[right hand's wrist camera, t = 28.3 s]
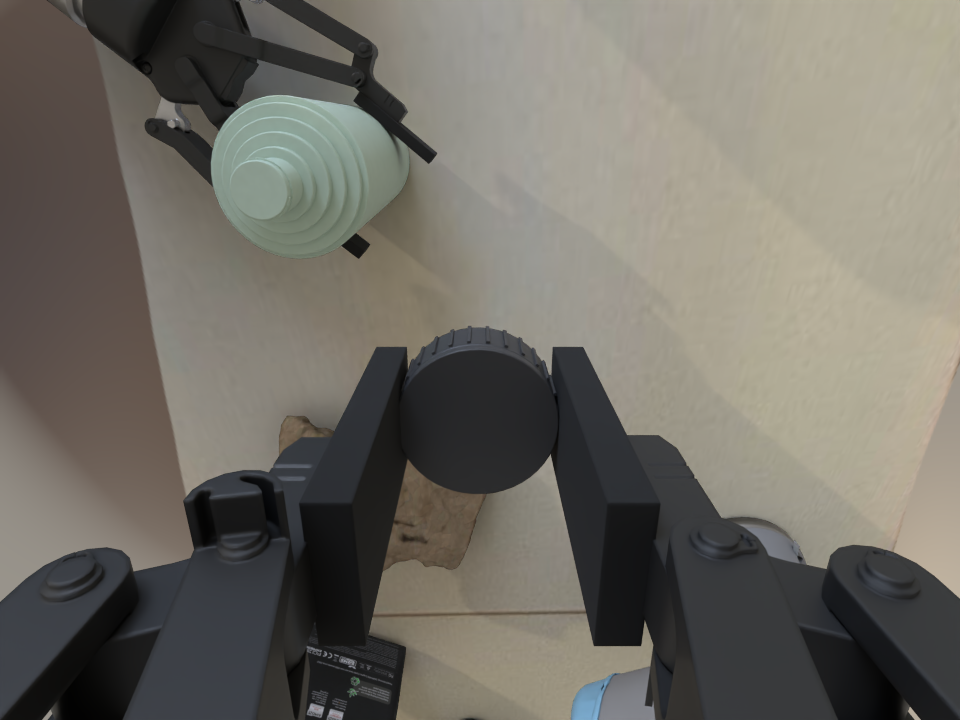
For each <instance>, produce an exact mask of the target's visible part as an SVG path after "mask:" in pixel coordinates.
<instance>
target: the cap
mask: <svg viewBox="0 0 960 720" xmlns="http://www.w3.org/2000/svg"><path fill="white" fill-rule="evenodd" d="M555 396H557V394H556V390H555V387H554V384H553V380H552V377H551V375H549V374H548V371H547V367H546V364H545V361H544V360H543V361H541V360H540V358H539V357H538V356H537V354H536V351H535V349H534V348H532V349H531V348H530V347H529V346H528V345H527V344H525V343H524V342H523V341H522V338H520V337H519V338H516V337H514V336H512V335H510V334H508V333H507V331H506V330H503V332H502V331H499V330H495V329H489V326H486V328H472V327H471V326H468V328H466V329H460V330H457V331H454V329H453V330H451V331H450V333H448V334H445V335H443V336H441V337H438V336H437V337H435V339H434V341H433V342H431V343H430V344H429V345H428V346H426V347H424V346H423V347H422V348H421V352H420V353H419V355H418V356H417V357H416V359H415V360H414V359H412V360H411V363H410V366H409V369H408V373H407V374H406V377H405V380H404V383H403V387H402V390H401V397H400V400H399V411H400V428H401V445H402V450H403V452H404V453H405V455H406V457H407V458H408V460H409V461H410V462H411V464H412V465H413V466H414V467H415V468H416V469H417V470H418V471H419V472H420V473H421V474H422V475H423V476H425V477H426V478H427V479H429V480H430V481H432V482H433V483H435V484H437V485H439V486H441V487H443V488H446V489H449V490H452V491H456V492H460V493H467V494H488V493H495V492H499V491H503V490H506V489H509V488H512V487H514V486H516V485H518V484H520V483H522V482H523V481H525V480H527V479H528V478H530V477H531V476H532V475H533V474H534V473H535V472H537V471H538V470H539V469H540V467H541V466H542V465H543V464H544V463H545V461H546V460H547V458H548V457H549V456H550V454H551V452H552V450H553V448H554V445H555V442H556V439H557V435H558V430H559V414H558V407H557V404H556V400H555Z"/></svg>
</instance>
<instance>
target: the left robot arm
mask: <svg viewBox="0 0 960 720" xmlns="http://www.w3.org/2000/svg"><path fill="white" fill-rule="evenodd" d="M47 1H48V2H50V3H51V4H52V5H54V6H55V7H56V8H58V9H59V10H60V11H61V12H63V13H64V14H65V15H67V16H68V17H69V18H70V19H72V20H73V21H74V22H75V23H77V24H78V25H80V26H83V27H85V28H88V30H89V31H90V33H91V34H92V35H93V36H94V37H95V38H97V39H98V40H99V41H101V42H102V43H103V44H105V45H106V46H107V47H109V48H110V49H111V50H112V51H114V52H115V53H116V54H118V55H119V56H120V57H122V58H123V59H124V60H126V61H127V62H128V63H130V64H131V65H132V66H133V67H135V68H136V69H137V70H139V71H140V72H141V73H143V74H144V75H146V76H147V77H148V78H149V79H150V80H151V81H152V83H153V84H154V86H155V87H156V89H157V91H158V93H159V94H160V95H161V96H162V97H161V100H160V103H159V106H158V109H157V113H156V116H155V118H150V119H148V120H146V122H145V129H146V131H147V133H148V134H150V135H151V136H153V137H155V138H156V139H158V140H160V141H162V142H164V143H166V144H168V145H169V146H171V147H173V148H175V149H176V150H177V151H178V152H179V153H180V154H181V155H182V156H183V157H184V158H185V159H186V160H187V161H188V162H189V163H190V164H191V165H192V166H193V167H194V168H195V169H196V170H197V171H198V172H199V173H200V174H201V175H202V176H203V177H204V178H205V179H206V180H207V181H208V182H209V183H210V184H211V185H212V186H213V182H212V176H211V159H212V151H213V148H212V147H211V146H210V145H209V144H208V143H207V142H206V141H205V140H204V139H203V138H202V137H201V136H199V135H198V134H197V133H195V132H194V131H192V130H191V129H190V128H191V123H190V121H189V120H188V119H187V118H186V117H185V116H184V115H183V113H182V111H181V104H193V105H200V107H201V108H202V110H203V111H204V113H205V114H206V116H207V118H208V119H209V121H210V122H211V123H212V124H213V125H215V126H216V127H217V129H218V130H219V131H220V130H221V128H222V126H223V124H224V123H225V122H226V121H227V119H228V118H229V117H230V116H231V115H232V114H233V113H234V112H235V111H236V110H237V109H239V107H238V105H237V103H236V102H237V100H238V99H239V97H240V95H241V94H242V91H243V87H244V83H245V81H246V80H247V79H248V78H249V77H250V76H251V75H252V74H253V73H254V72H255V70H256V68H257V67H258V65H259V64H257V63H256V62H257V59H258V60H262V61H265V62H269V63H272V64H276V65H279V66H283V67H286V68H289V69H293V70H296V71H300V72H303V73H307V74H310V75H314V76H317V77H320V78H324V79H327V80H331V81H334V82H338V83H341V84H345V85H348V86H352V87H355V88H356V89H357V90H358V91H360V92H359V93H358V95H357V96H356V98H355V99H354V102H355V103H356V104H358V105H359V106H360V107H361V108H362V109H364V110H365V111H366V112H367V113H368V114H370V115H371V116H372V117H373V118H374V119H376V120H377V121H378V122H379V123H380V124H382V125H383V126H384V127H385V128H386V129H388V130H389V131H390V132H391V133H392V134H394V135H395V136H396V137H397V138H398V139H400V140H401V141H402V142H403V143H404V144H406V145H407V146H408V147H409V148H410V149H412V150H413V151H414V152H415V153H416V154H418V155H419V156H420V157H421V158H422V159H424V160H425V161H426V162H427V163H428V164H429V163H430V162H431V161H432V160H433V159H434V157H435V156H436V155H437V153H436V152H435V151H434V150H433V149H432V148H430V147H429V146H428V145H427V144H426V143H424V142H423V141H422V140H421V139H420V138H419V137H417V136H416V135H415V134H414V133H413V132H411V131H410V130H409V129H408V128H407V127H405V126H404V125H403V124H402V123H401V121H402V120H403V118H404V117H405V115H406V114H407V113H408V111H407V109H406V107H405V106H404V104H403V103H401V102H400V101H399V100H398V99H397V98H396V97H394V96H393V95H392V94H391V93H390V92H389V91H387V90H386V89H385V88H384V87H383V86H381V85H380V84H379V83H378V82H377V81H376V80H375V78H374V75H373V68H374V64H375V60H376V58H377V56H378V49H377V47H376V46H375V45H374V44H373V43H372V42H370V41H369V40H368V39H366V38H365V37H363V36H361V35H360V34H358V33H357V32H355V31H353V30H352V29H350V28H348V27H347V26H345V25H343V24H342V23H340V22H338V21H337V20H335V19H333V18H332V17H330V16H328V15H327V14H325V13H323V12H322V11H320V10H318V9H317V8H315V7H313V6H312V5H310V4H308V3H307V2H305V1H303V0H266V1H267V2H269V3H270V4H272V5H273V6H275V7H277V8H278V9H280V10H282V11H283V12H285V13H287V14H288V15H290V16H292V17H294V18H295V19H297V20H299V21H300V22H302V23H304V24H305V25H307V26H309V27H310V28H312V29H314V30H315V31H317V32H319V33H321V34H322V35H324V36H326V37H327V38H329V39H331V40H332V41H334V42H336V43H337V44H339V45H341V46H342V47H344V48H346V49H348V50H349V51H351V52H353V53H354V58H353V62H352V66H348V65H345V64H342V63H338V62H335V61H331V60H328V59H325V58H321V57H318V56H314V55H311V54H308V53H304V52H301V51H297V50H294V49H291V48H287V47H284V46H280V45H277V44H274V43H270V42H267V41H264V40H261V39H258V38H254V37H252V36H251V33H250V30H249V28H248V25H247V22H246V20H245V17H244V14H243V11H242V9H241V6H240V3H239V1H240V0H47ZM250 1H251V2H253V3H256V4H260V3H262V2H263V1H264V0H250ZM341 246H342V247H344V248H345V249H346V250H348V251H349V252H350V253H352V254H353V255H354V256H356V257H357V258H358V259H359V258H360V257H361V256H362V255H363V254H364V252H365V251H366V250H367V248H368V247H369V246H370V244H369V243H368V242H367V241H365V240H364V239H363V238H362V237H360V236H359V235H358V234H356V233H355V234H354V235H353V236H352V237H351V238H350V239H348V240H347V241H346V242H345V243H344V244H342V245H341Z"/></svg>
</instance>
